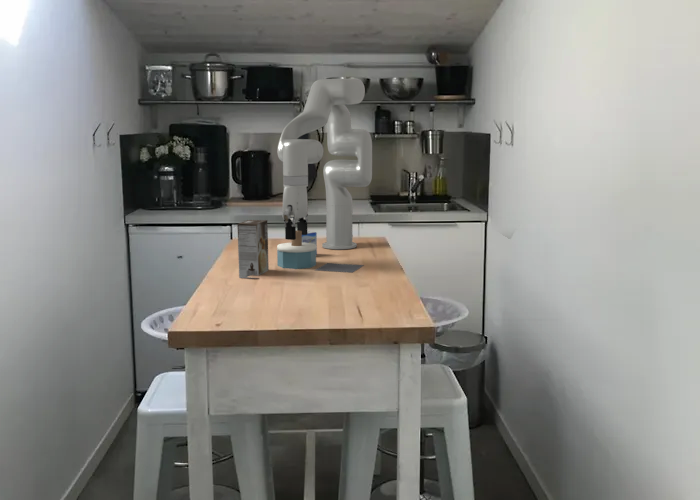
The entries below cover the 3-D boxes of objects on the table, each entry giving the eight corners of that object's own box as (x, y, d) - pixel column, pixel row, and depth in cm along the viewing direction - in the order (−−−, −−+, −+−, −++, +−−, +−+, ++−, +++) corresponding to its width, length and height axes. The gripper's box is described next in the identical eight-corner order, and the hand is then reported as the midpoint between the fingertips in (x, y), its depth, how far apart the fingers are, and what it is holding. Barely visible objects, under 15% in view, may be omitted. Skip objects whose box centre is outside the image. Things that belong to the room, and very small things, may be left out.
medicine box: (301, 260, 237) (301, 234, 236) (291, 259, 240) (291, 233, 238) (317, 257, 243) (317, 231, 242) (307, 256, 246) (306, 230, 244)
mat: (327, 266, 227) (327, 263, 227) (364, 268, 224) (364, 265, 224) (314, 273, 216) (314, 270, 216) (352, 275, 213) (352, 272, 212)
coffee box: (249, 272, 219) (247, 219, 216) (269, 272, 217) (268, 219, 215) (238, 278, 210) (236, 223, 207) (259, 279, 208) (258, 223, 206)
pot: (287, 264, 231) (286, 245, 230) (319, 266, 228) (319, 247, 227) (273, 270, 221) (272, 251, 220) (307, 272, 217) (306, 253, 216)
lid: (286, 245, 231) (285, 227, 230) (321, 247, 227) (321, 229, 226) (271, 251, 219) (270, 233, 219) (307, 253, 216) (307, 234, 215)
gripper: (294, 179, 229) (295, 232, 232) (272, 183, 213) (274, 240, 216) (317, 179, 227) (317, 233, 230) (296, 184, 211) (297, 242, 214)
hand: (296, 237), depth 223 cm, fingers open, 9 cm apart
